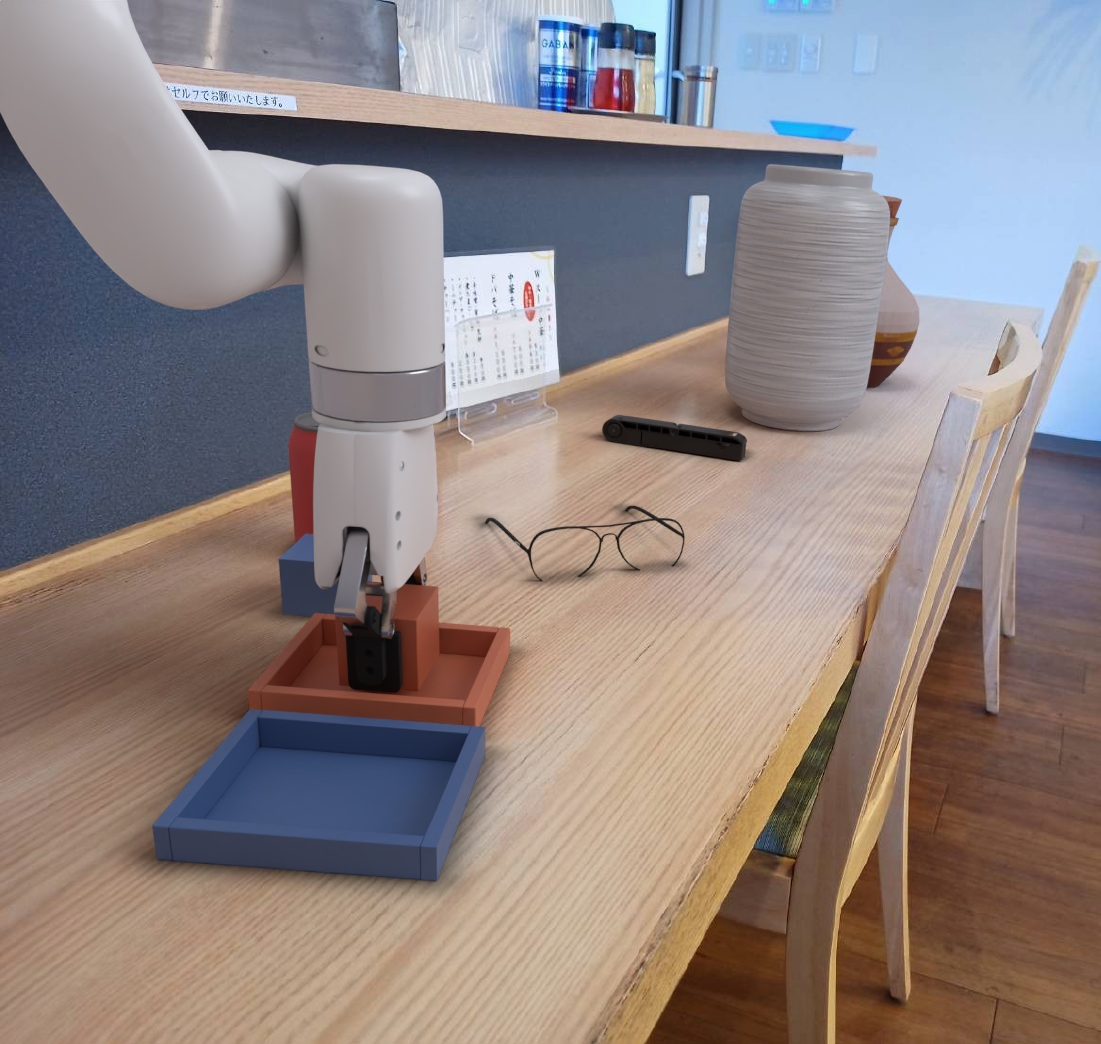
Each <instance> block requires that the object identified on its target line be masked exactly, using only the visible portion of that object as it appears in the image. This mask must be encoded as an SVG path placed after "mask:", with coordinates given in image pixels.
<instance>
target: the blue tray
mask: <svg viewBox="0 0 1101 1044" xmlns="http://www.w3.org/2000/svg"><path fill="white" fill-rule="evenodd" d="M485 758H486V726H481V725H480V726H472V727H471V726H466V725H453V724H440V723H427V722H414V721H401V720H388V719H375V718H362V717H349V716H336V715H323V714H310V713H297V712H284V711H271V710H255V709H250V710H249V709H248V711H247V712H245V714H244V716H243V717H242V718H241V719H240V720H239V721H238V723H237V724H236V725H235V726H234V727H233V728H232V730H230V732H229V733H228V734H227V736H226V737H225V738H224V739H223V740H222V742H221V743H219V745H218V746H217V747H216V749H215V750H214V751H213V752H212V754H210V756H209V757H208V758H207V760H206V761H205V762H204V763H203V764H202V766H201V767H200V768H199V769H198V770H197V772H196V773H195V774H194V775H193V776H192V778H191V779H190V780H189V781H188V782H187V783H186V784H185V786H184V787H183V788H182V789H181V790H180V792H179V793H178V794H177V795H176V797H175V798H174V799H173V800H172V801H171V802H170V804H169V805H168V806H167V808H166V809H165V810H164V811H163V812H162V813H161V815H160V816H159V817H158V818H157V819H156V821H154V823H153V824H152V826H151V827H152V828H151V829H152V834H153V842H154V849H155V850H154V851H155V858H156V860H157V861H162V862H163V861H164V862H177V863H188V864H189V863H191V864H203V865H216V866H227V867H228V866H229V867H242V868H254V869H255V868H258V869H267V870H268V869H269V870H282V871H293V872H295V871H296V872H306V873H307V872H309V873H320V874H321V873H322V874H334V875H335V874H336V875H348V876H358V877H359V876H361V877H374V878H388V879H400V880H415V881H424V882H425V881H426V882H427V881H428V882H438V880H439V878H440V875H441V872H442V870H443V867H444V864H445V862H446V859H447V857H448V854H449V851H450V849H451V846H452V844H453V841H454V838H455V836H456V834H457V830H458V828H459V825H460V823H461V820H462V817H463V815H464V812H465V810H466V807H467V804H468V803H469V800H470V796H471V794H472V792H473V789H474V786H475V784H476V781H477V778H478V776H479V773H480V771H481V768H482V765H483V763H484V760H485Z"/></svg>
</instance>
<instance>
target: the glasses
mask: <svg viewBox="0 0 1101 1044" xmlns="http://www.w3.org/2000/svg"><path fill="white" fill-rule="evenodd" d="M632 509H633V510H636V511H638V512H640V513H642V514H644V515H646V516H647V517H649V518H645V519H639V520H634V521H627V522H620V523H612V524H603V525H578V526H577V525H572V526H571V525H568V526H567V525H566V526H565V525H564V526H557V527H551V528H545V529H544V530H540V531H538V532H537V533H536V534H535V535H534V536H533V537H532V538H531V539H532V540H531V542H530V544H529V546H528V548H527V547H526V546H525V545H524V544H523V543H522V542H521V541H520V540H519V539H518V538H517V537H516V536H515V535H514V534H513V533H512V532H511V531H510V530H509V529H507V527H505V526H504V524H502V523H501V522H500V521H498V519H496V518H494V517H487V518H486V520H485V521H484V523H485V524H489V523H490V522H492V523H494V524H495V525H496V526H497V527H498V528H499V529H500V530H501V531H502V532H503V533H505V535H506V536H507V537H508V538H509V539H511V540H512V542H513V543H515V545H517V546H518V547H519V548H520V549H521V550H522V551H524V552H525V553H526V554H527V558H528V562H529V564H530V568H531V570H532V573H533V574H534V576H535V577H536V578H537V580H539V581H540V582H544V580H543V579H542V578H540V577H539V576H538V575H537V573H536V571H535V570H534V565H533V561H532V549H533V545H534V543H535V541H537V539H538V538H539V537H540V536H542V535H545V534H546V533H547V534H548V533H550V532H554V531H560V530H570V529H572V530H573V529H577V530H578V529H579V530H585V531H589V532H592V533H593V534H595V536H596V537H597V538H598V540H599V544H598V550H597V552H596V554H595V556H594V558H593V560H592V561H591V562H590V564H589V565H588V567H586V568H585V570H584V571H582V572H581V573H580V574H578V575H577V578H581V577H582V576H583V575H585V574H586V573H587V572H589V570H590V569H592V567H593V566H594V564H596V561H598V560H597V559H598V558H599V555H600V553H601V550H602V543H603V542H604V538H605V537H607V536H614V538H615V541H616V547H617V551H618V552H619V554H620V556H621V558H622V559H623V560H624V562H625V564H627V565H628V566H630V567H631V568H632V569H635V570H637V571H641V569H640V568H638V567H636V566H634V565H633V564H631V563H630V562H629V561H628V560H627V559H626V557H625V555H624V554H623V552H622V550H621V545H620V544H621V543H620V538H621V536H622V535H623V533H624V532H625V531H626V530H627V529H629V528H631V527H633V526H635V525H638V524H642V523H646V522H647V523H648V522H657V523H659V524H660V525H662V526H663V527H664V528H666V529H668V530H669V531H671V532H673V533H674V534H676V535H678V536H679V537H681V539H682V544H681V549H680V552H679V554H678V557H677V558H676V560H675V561H674V562H673V564H672V565H671V567H675V566H676V565H677V563H678V561H679V560H680V559H681V556H682V554H683V551H684V546H685V532H684V528H683V526H682V525H681V523H680V522H678V521H677V520H676V519H673V518H669V517H658V516H656V515H655V514H653V513H651V512H649V511H648V510H646V509H644V508H643V507H640V506H638V505H629V506H627V507H626V508H625V509H624V511H625V512H629V511H631V510H632ZM667 522H673V523H676V525H678V527H679V529H680V530H681V531H680V530H678V529H676V528H675V527H674V526H671V525H670V524H668V523H667ZM619 526H624V527H623V528H622V529H621V530H620V531H619V533H618V534H616V533H612V532H608V533H605V534H603V535H602V536H601V537H600V534H599V533H598V532H596V531H595V530H593V529H592V528H611V527H619Z"/></svg>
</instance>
